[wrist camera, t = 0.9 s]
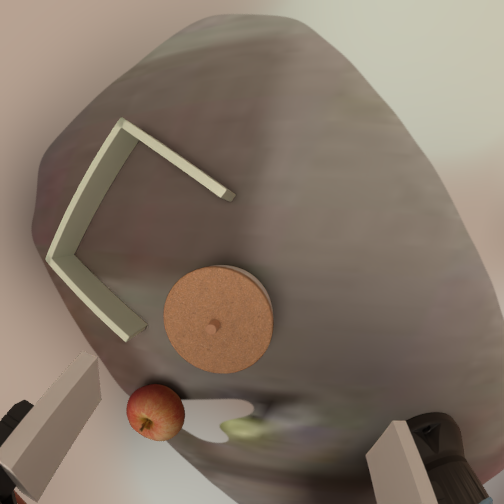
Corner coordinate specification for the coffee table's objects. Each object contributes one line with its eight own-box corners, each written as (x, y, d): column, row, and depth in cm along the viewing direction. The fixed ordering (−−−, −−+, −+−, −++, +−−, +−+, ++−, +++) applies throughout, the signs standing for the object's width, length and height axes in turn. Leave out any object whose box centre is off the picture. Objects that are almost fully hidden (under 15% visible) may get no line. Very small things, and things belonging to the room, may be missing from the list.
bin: (236, 194, 34) (226, 189, 29) (144, 329, 37) (125, 342, 32) (140, 128, 35) (121, 116, 30) (67, 256, 38) (45, 259, 33)
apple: (157, 424, 38) (135, 454, 30) (132, 381, 38) (104, 407, 30) (202, 417, 37) (184, 451, 29) (176, 370, 37) (151, 400, 29)
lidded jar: (176, 320, 36) (142, 347, 27) (209, 242, 35) (180, 248, 25) (253, 359, 35) (240, 399, 26) (293, 283, 34) (293, 304, 25)
